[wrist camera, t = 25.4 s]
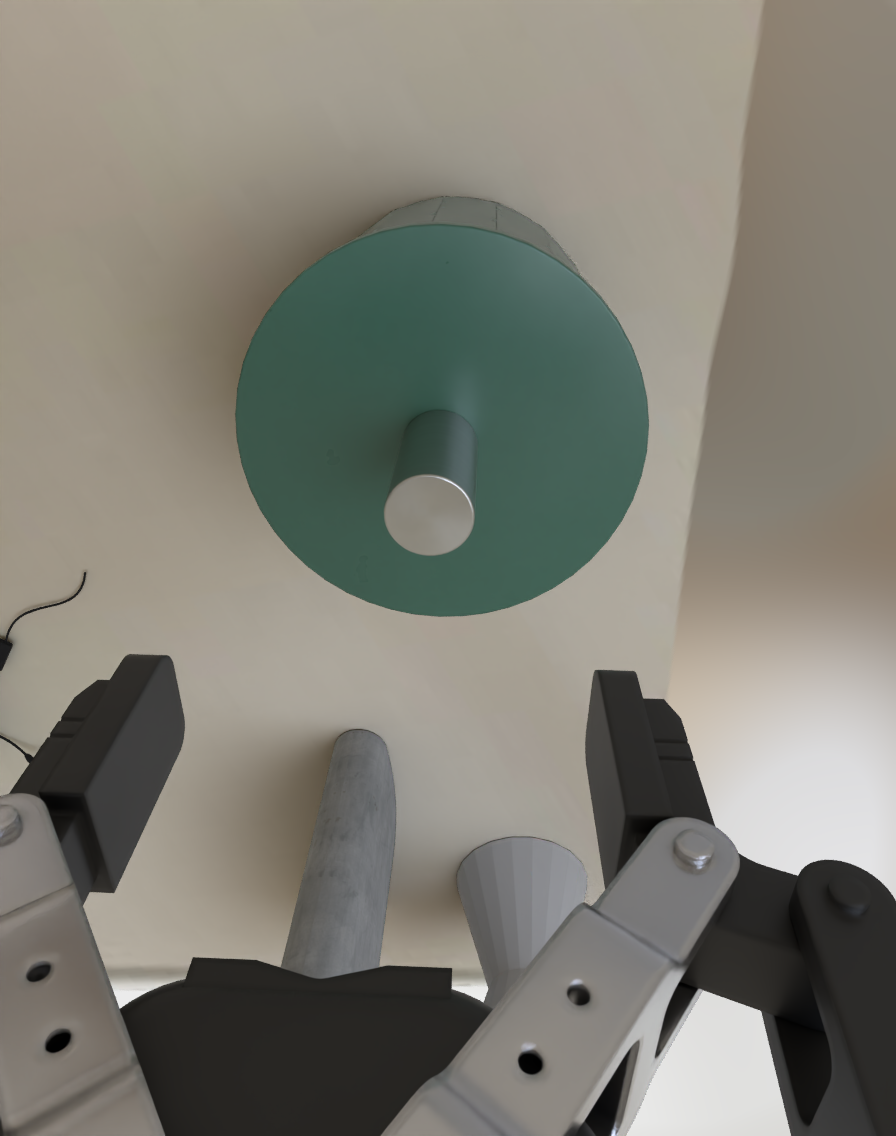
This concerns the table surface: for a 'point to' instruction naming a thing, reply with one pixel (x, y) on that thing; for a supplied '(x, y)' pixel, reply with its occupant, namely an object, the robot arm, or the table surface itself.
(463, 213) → the open teal cylindrical container
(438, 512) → the teal disc with peg
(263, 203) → the table surface
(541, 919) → the lava lamp
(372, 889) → the hip flask
